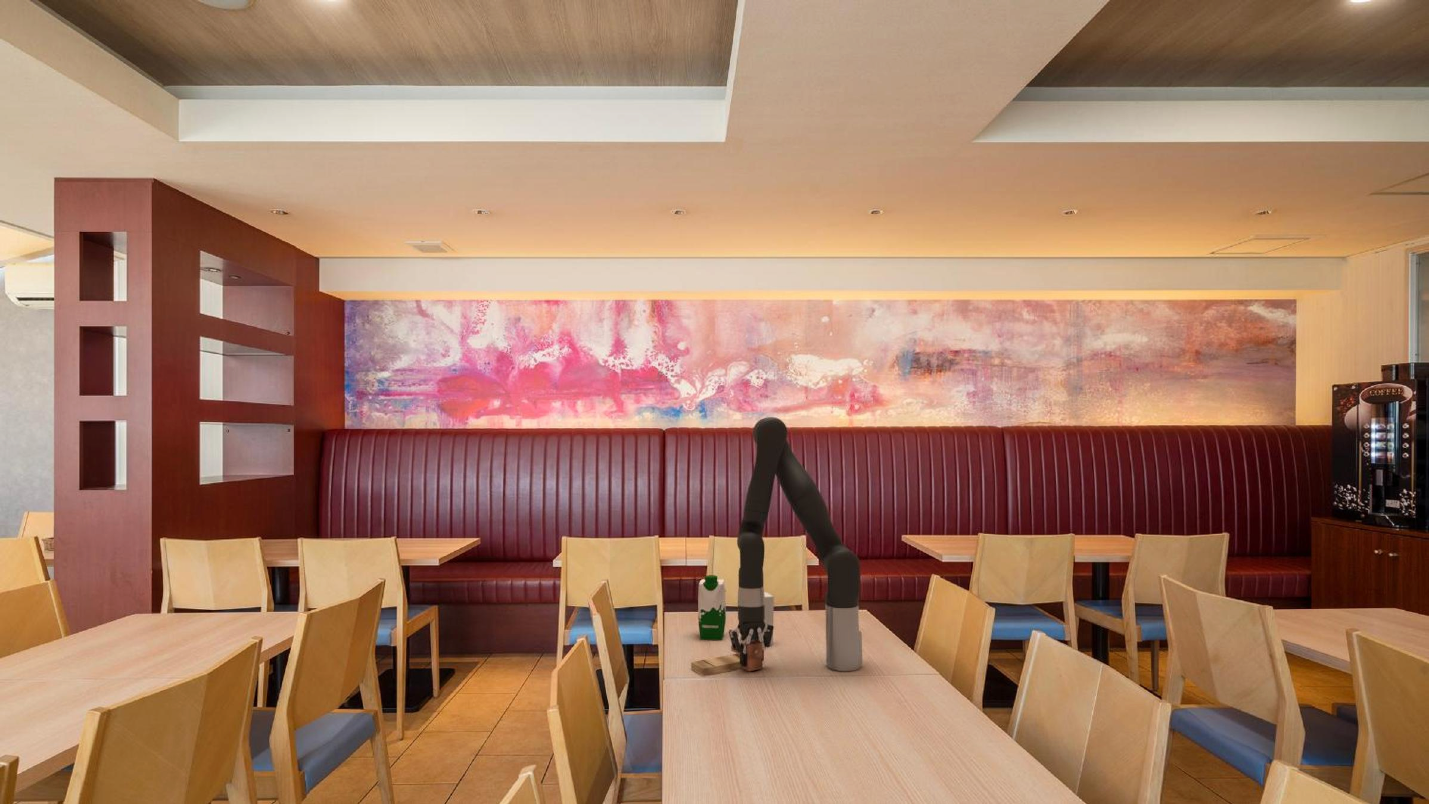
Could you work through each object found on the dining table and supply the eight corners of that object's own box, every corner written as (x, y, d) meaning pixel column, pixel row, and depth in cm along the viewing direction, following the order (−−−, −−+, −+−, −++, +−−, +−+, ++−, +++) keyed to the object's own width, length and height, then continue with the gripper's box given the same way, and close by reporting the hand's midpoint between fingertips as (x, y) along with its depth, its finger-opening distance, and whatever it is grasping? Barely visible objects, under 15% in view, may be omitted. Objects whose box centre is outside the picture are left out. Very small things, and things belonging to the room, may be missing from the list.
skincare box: (743, 641, 234) (743, 591, 235) (762, 638, 237) (761, 589, 238) (756, 648, 226) (755, 596, 227) (775, 645, 229) (774, 594, 230)
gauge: (739, 657, 215) (739, 633, 216) (764, 668, 204) (763, 643, 205) (726, 659, 213) (726, 635, 213) (750, 671, 202) (750, 645, 202)
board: (748, 658, 216) (748, 651, 216) (761, 664, 210) (761, 657, 210) (691, 669, 206) (691, 661, 206) (703, 676, 200) (703, 668, 200)
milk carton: (697, 640, 235) (696, 577, 236) (700, 633, 244) (700, 572, 245) (724, 641, 234) (723, 577, 235) (726, 633, 243) (726, 572, 244)
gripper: (765, 597, 213) (765, 657, 212) (722, 603, 206) (722, 665, 205) (779, 602, 207) (780, 664, 206) (736, 608, 199) (737, 672, 199)
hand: (751, 664), depth 205 cm, fingers closed on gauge, 4 cm apart
